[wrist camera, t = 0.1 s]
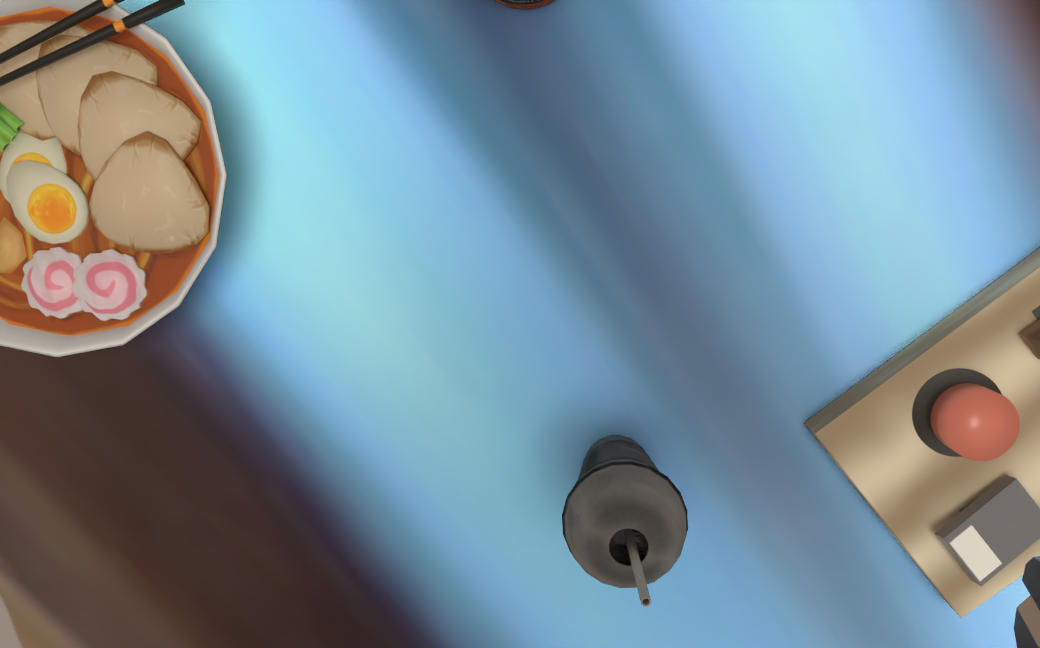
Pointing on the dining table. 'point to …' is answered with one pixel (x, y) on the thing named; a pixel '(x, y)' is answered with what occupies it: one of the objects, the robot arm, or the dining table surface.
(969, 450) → the brick-red push button
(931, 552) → the control board
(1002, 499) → the charcoal rocker switch
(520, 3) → the canned food
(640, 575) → the beverage cup
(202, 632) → the dining table surface
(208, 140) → the ramen bowl
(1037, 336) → the walnut slider knob
